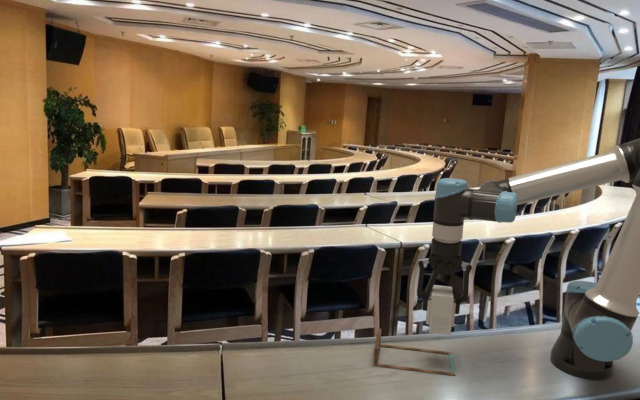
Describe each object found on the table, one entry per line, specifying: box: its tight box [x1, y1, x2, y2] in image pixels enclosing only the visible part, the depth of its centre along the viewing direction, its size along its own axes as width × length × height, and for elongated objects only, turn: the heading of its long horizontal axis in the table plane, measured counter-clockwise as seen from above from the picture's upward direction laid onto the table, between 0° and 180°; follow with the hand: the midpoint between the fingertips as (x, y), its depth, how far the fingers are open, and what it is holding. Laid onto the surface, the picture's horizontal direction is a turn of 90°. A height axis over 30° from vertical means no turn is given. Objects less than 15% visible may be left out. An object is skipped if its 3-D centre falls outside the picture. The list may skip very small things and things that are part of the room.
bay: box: [373, 328, 456, 377], centre depth 136 cm, size 21×12×5 cm, turn 79°
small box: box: [428, 284, 455, 336], centre depth 133 cm, size 8×6×10 cm
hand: (439, 323), depth 133 cm, fingers closed on small box, 6 cm apart
